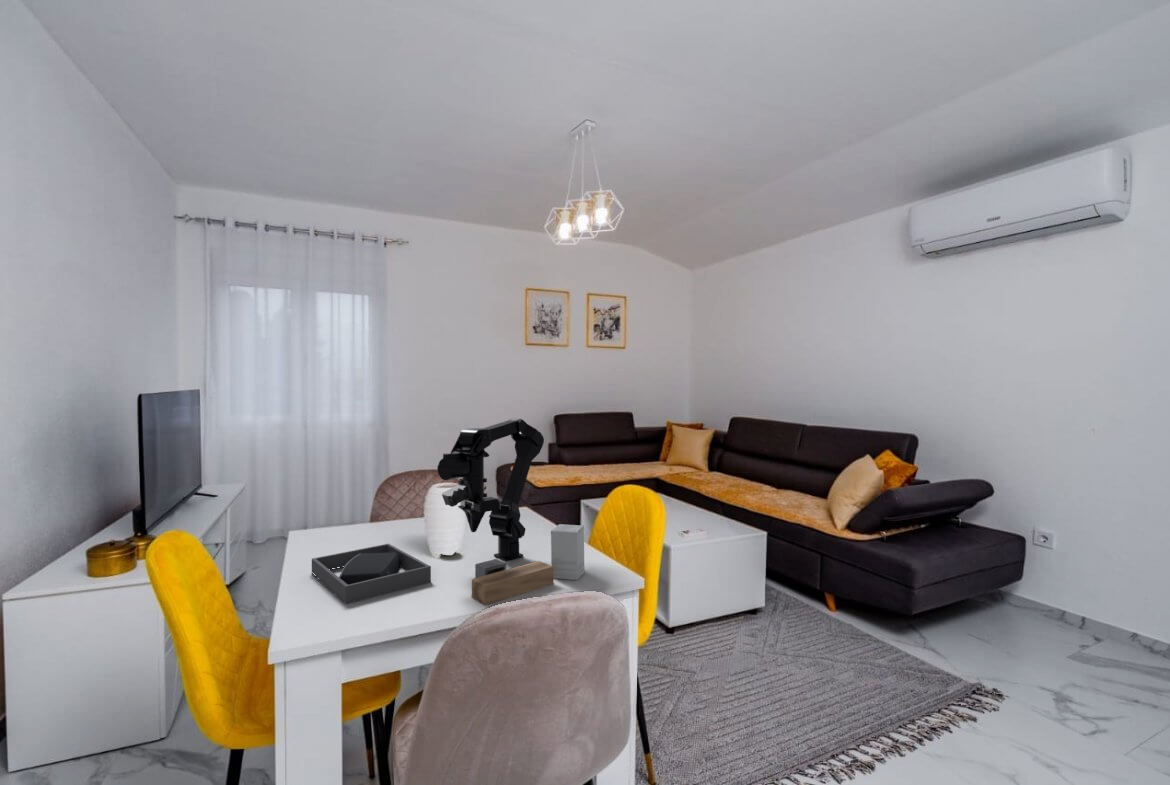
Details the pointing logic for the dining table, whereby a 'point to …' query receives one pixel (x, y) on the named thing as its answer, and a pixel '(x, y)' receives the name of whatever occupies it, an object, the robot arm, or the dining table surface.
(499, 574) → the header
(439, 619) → the dining table surface
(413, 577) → the bumper frame
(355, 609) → the dining table surface
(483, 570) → the box
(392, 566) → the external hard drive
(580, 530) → the supplement box
